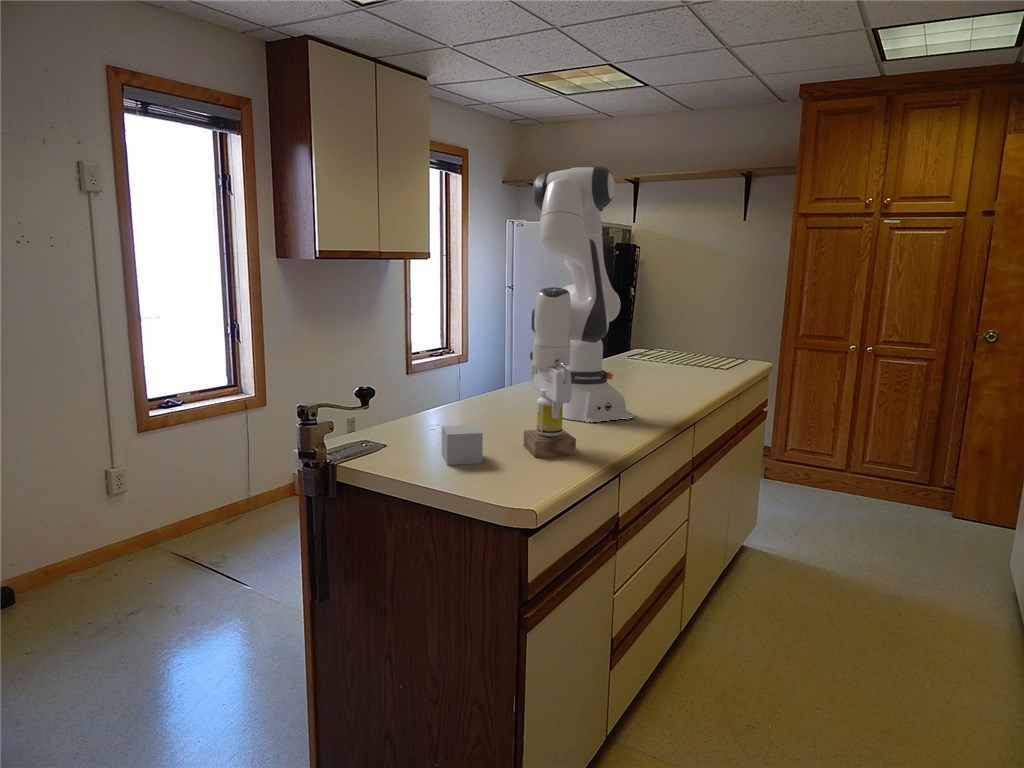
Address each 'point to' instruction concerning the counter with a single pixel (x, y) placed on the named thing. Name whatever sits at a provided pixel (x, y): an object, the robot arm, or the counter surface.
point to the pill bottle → (547, 417)
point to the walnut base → (549, 444)
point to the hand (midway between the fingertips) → (549, 414)
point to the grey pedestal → (462, 444)
